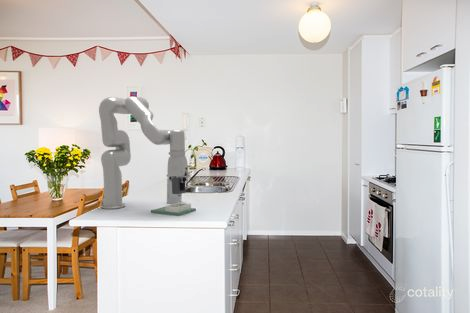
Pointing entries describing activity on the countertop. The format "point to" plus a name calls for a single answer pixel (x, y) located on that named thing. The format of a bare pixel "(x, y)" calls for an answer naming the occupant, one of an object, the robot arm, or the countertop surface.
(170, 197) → the skincare box
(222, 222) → the countertop surface
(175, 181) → the dark gray block
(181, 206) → the header board
